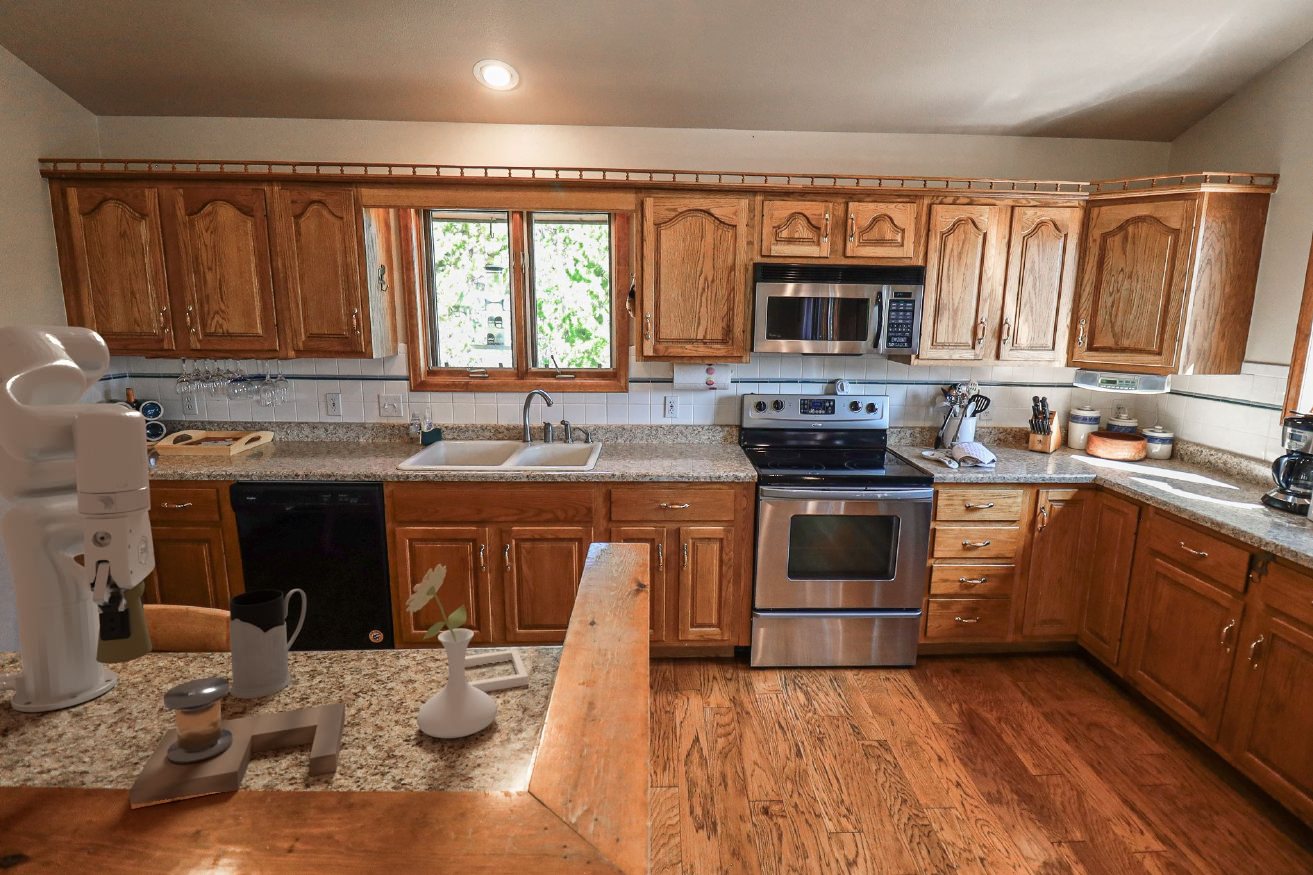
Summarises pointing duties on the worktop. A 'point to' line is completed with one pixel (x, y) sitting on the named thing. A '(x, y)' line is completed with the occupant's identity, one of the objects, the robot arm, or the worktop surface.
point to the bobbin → (198, 720)
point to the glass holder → (260, 642)
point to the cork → (139, 636)
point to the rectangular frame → (499, 681)
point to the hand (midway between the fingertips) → (123, 630)
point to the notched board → (243, 753)
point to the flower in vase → (451, 672)
